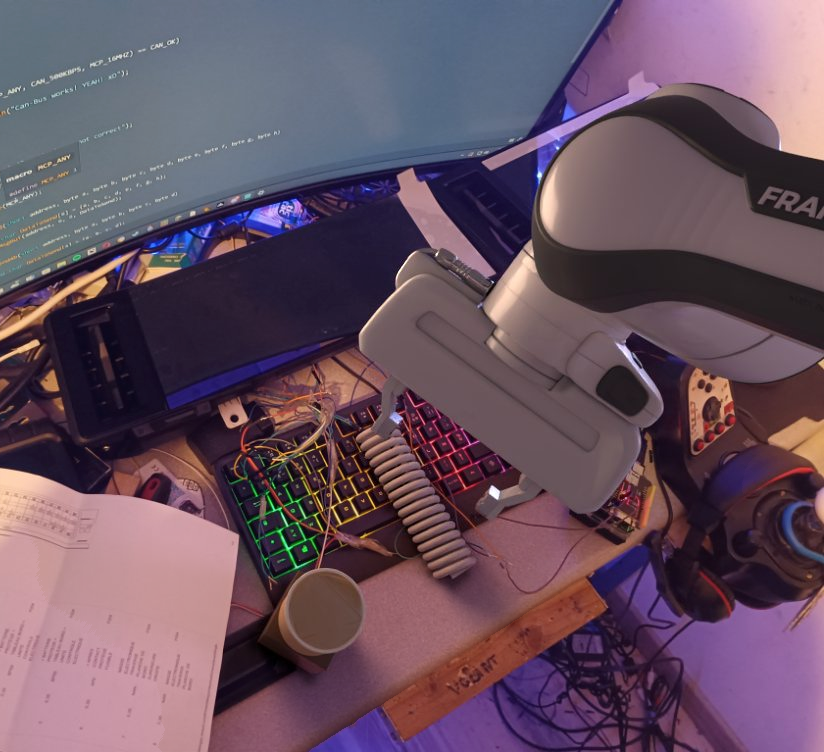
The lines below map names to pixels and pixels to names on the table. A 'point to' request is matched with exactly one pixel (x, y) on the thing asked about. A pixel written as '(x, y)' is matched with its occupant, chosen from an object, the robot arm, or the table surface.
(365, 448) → the coil
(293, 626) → the paper cup
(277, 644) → the block
